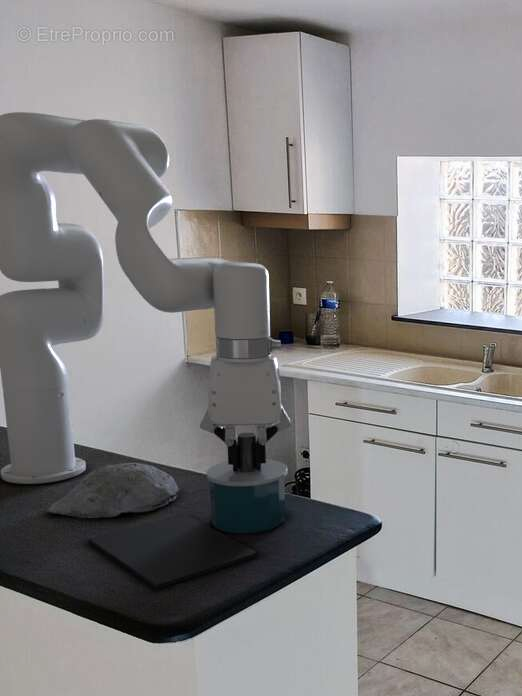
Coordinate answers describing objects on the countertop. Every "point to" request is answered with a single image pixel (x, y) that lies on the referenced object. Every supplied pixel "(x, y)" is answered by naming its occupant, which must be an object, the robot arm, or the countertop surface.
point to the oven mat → (172, 550)
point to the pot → (248, 507)
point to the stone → (118, 492)
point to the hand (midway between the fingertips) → (247, 467)
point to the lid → (247, 467)
